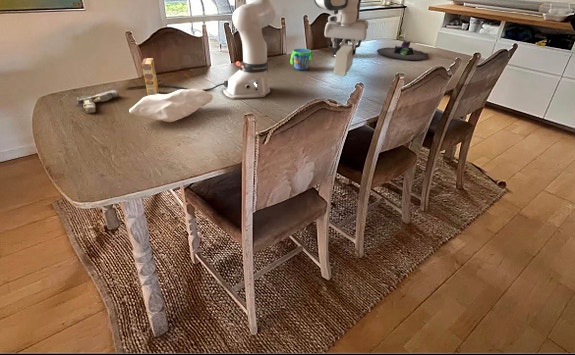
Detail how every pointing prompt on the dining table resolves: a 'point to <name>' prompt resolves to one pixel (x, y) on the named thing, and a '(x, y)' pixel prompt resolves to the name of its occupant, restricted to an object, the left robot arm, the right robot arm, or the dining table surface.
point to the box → (343, 60)
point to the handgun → (95, 100)
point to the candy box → (150, 76)
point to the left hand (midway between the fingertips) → (343, 48)
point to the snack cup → (301, 58)
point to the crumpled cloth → (171, 104)
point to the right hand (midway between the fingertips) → (347, 54)
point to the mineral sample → (403, 52)
